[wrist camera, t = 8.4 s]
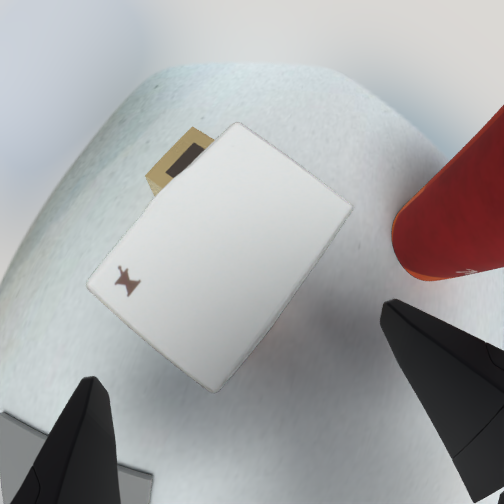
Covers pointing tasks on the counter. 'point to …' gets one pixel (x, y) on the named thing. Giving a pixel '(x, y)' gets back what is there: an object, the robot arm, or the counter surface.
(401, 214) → the coffee cup
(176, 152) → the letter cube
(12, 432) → the slate pad
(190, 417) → the counter surface
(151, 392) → the counter surface
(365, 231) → the counter surface
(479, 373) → the robot arm
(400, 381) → the counter surface
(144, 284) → the skincare box
